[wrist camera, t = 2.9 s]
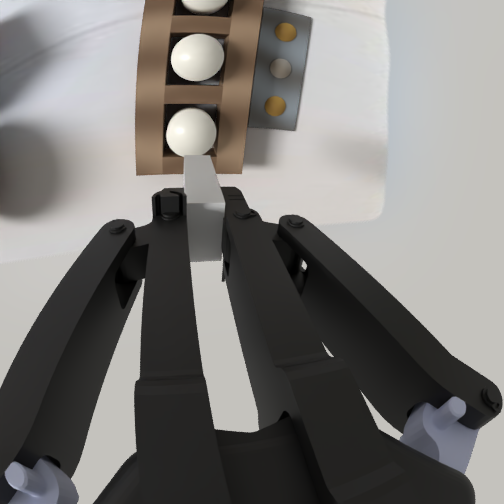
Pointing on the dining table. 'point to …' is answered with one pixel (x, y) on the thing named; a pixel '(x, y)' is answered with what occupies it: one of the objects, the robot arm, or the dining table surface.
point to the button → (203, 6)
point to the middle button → (197, 57)
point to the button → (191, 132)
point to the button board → (231, 79)
